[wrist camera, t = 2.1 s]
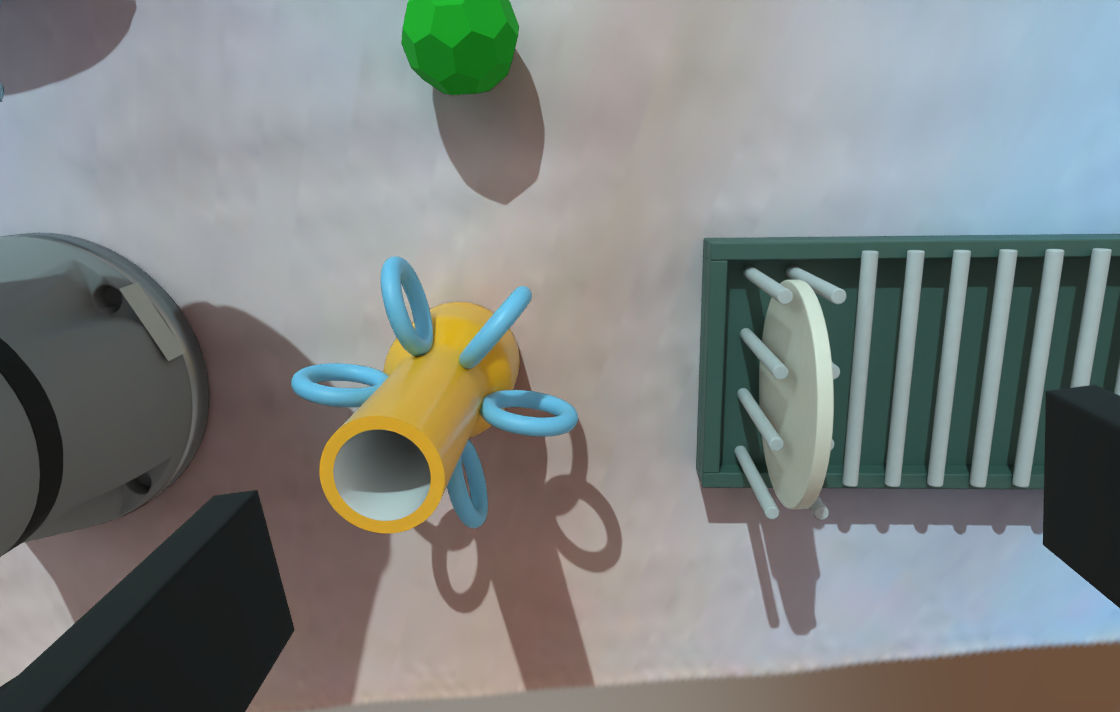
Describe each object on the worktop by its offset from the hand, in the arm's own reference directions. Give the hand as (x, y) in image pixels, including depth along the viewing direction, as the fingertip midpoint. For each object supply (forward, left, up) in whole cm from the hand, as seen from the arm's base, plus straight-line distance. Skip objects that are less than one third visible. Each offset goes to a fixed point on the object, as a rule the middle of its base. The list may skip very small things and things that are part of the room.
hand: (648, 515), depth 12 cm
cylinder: (-8, -4, -25) cm, 27 cm away
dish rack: (+15, -4, -25) cm, 30 cm away
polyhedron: (-7, +11, -25) cm, 28 cm away
